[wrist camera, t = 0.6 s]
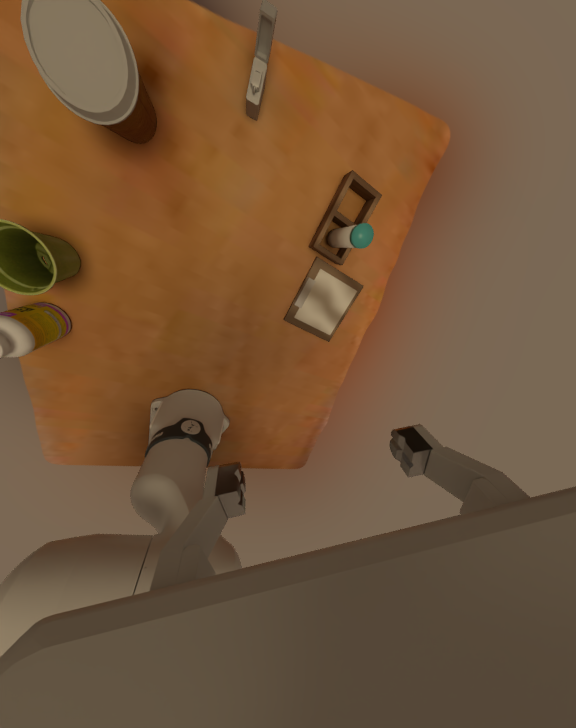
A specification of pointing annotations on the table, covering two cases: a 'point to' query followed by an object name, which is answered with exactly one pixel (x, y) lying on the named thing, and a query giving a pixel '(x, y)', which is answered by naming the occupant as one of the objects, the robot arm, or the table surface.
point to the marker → (351, 236)
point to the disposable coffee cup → (89, 64)
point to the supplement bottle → (31, 328)
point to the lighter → (260, 58)
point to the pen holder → (333, 215)
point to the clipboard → (323, 300)
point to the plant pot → (33, 260)
